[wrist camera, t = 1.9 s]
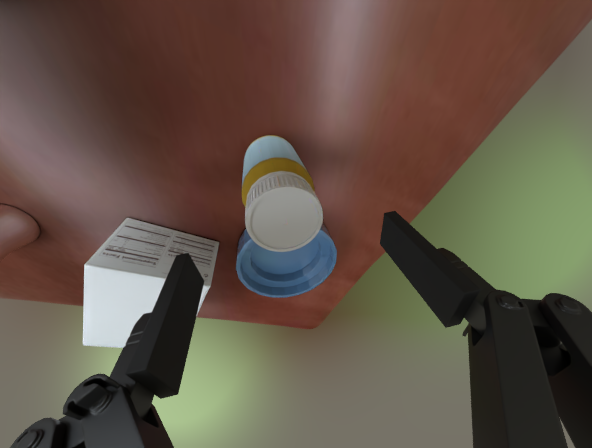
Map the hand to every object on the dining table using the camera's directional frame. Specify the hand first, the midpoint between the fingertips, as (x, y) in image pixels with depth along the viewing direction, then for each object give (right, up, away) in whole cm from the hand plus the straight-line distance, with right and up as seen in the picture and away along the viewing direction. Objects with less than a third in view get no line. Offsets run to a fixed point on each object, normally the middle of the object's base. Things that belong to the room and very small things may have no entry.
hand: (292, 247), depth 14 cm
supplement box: (-22, -6, +21) cm, 31 cm away
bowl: (-2, -3, +23) cm, 24 cm away
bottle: (-3, +10, +14) cm, 18 cm away
